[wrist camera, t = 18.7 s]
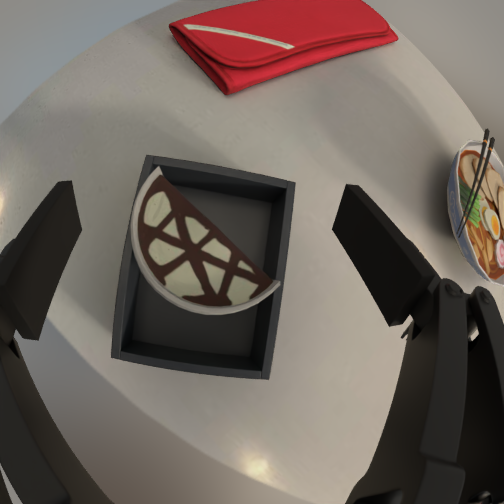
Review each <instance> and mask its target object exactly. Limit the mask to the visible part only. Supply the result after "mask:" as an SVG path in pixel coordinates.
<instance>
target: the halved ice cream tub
mask: <svg viewBox="0 0 504 504" xmlns="http://www.w3.org/2000/svg"><path fill="white" fill-rule="evenodd" d="M131 241H132V247H133V251H134V256H135V259H136V261H137V264H138V266H139V268H140V270H141V272H142V274H143V275H144V277H145V279H146V280H147V282H148V283H149V284H150V285H151V286H152V287H153V288H154V290H155V291H156V292H157V293H159V294H160V295H161V296H162V297H164V298H165V299H166V300H167V301H169V302H171V303H173V304H174V305H176V306H178V307H180V308H183V309H185V310H188V311H191V312H195V313H200V314H205V315H223V314H230V313H235V312H238V311H242V310H245V309H247V308H249V307H251V306H253V305H255V304H257V303H259V302H260V301H262V300H263V299H265V298H266V297H267V296H269V295H270V294H271V293H272V292H273V291H274V290H276V289H277V288H278V287H279V286H280V285H281V284H280V281H277V280H272V279H271V278H270V277H269V276H268V275H267V274H266V273H265V272H263V271H262V270H261V269H260V268H259V267H258V266H257V265H256V264H254V263H253V262H252V261H251V260H250V259H249V258H248V257H247V256H246V255H245V254H244V253H243V252H242V251H241V250H240V249H239V248H238V247H237V246H236V245H235V244H234V243H233V242H232V241H231V240H230V239H229V238H228V237H227V236H226V235H225V234H224V233H223V232H222V231H221V230H220V229H219V228H218V227H217V226H216V225H215V224H214V223H212V222H211V221H210V220H209V219H208V218H207V217H206V216H205V215H204V214H202V213H201V212H200V211H199V210H198V209H197V208H196V207H195V206H194V205H193V204H192V203H191V202H190V201H189V200H187V199H186V198H185V197H184V196H183V195H182V194H181V193H180V192H179V191H178V190H177V189H176V188H175V187H174V186H173V185H172V184H171V183H170V182H169V181H167V180H166V179H165V178H164V177H163V174H162V172H161V169H160V167H159V166H158V167H157V168H156V169H155V170H154V171H153V172H152V173H151V174H150V176H149V177H148V178H147V180H146V181H145V183H144V184H143V186H142V187H141V189H140V191H139V193H138V196H137V198H136V200H135V204H134V207H133V211H132V218H131Z"/></svg>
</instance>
